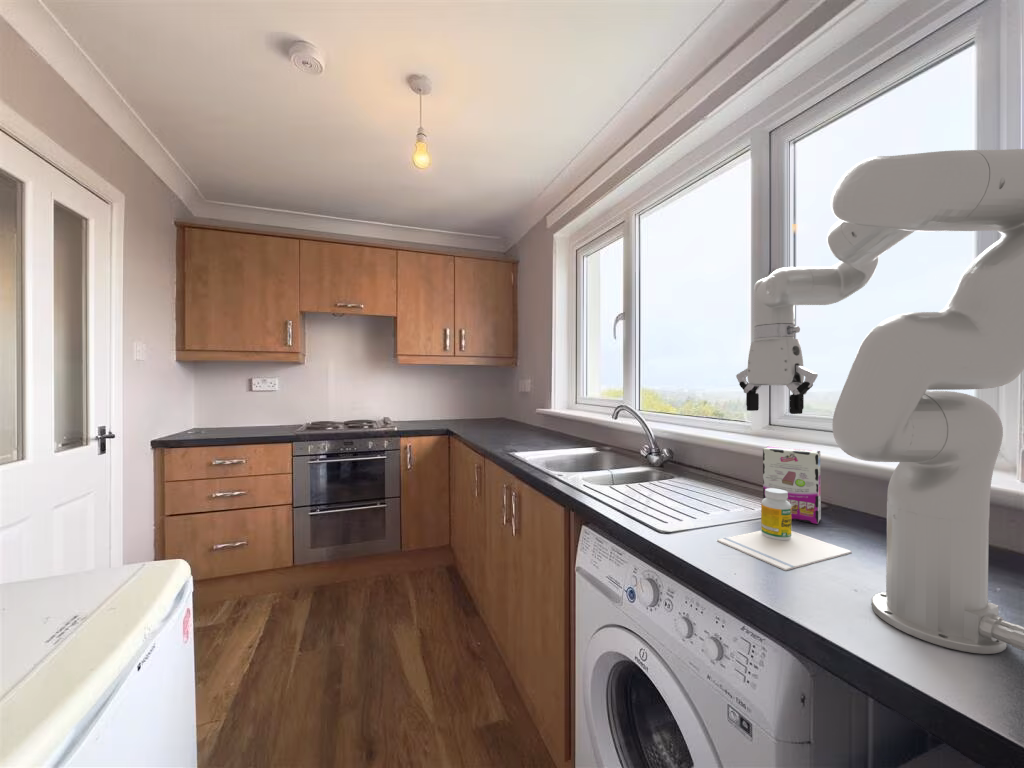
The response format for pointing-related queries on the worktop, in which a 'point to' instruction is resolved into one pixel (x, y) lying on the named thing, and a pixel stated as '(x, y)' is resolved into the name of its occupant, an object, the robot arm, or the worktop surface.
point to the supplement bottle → (776, 515)
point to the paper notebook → (784, 549)
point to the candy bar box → (795, 479)
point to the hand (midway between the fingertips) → (773, 412)
